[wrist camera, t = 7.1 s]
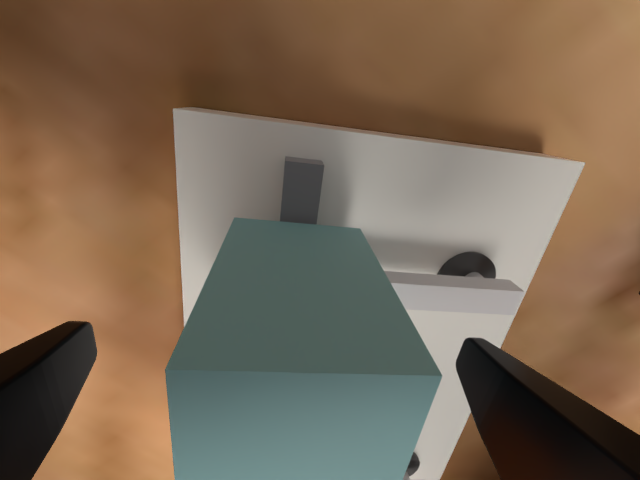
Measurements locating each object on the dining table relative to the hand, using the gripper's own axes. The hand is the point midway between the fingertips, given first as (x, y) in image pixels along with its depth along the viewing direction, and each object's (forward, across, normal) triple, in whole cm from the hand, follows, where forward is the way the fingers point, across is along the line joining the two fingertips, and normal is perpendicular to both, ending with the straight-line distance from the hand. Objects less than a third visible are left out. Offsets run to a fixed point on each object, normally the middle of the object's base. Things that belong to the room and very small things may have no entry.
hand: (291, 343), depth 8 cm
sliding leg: (+4, -3, 0) cm, 5 cm away
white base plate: (+6, -3, +5) cm, 9 cm away
